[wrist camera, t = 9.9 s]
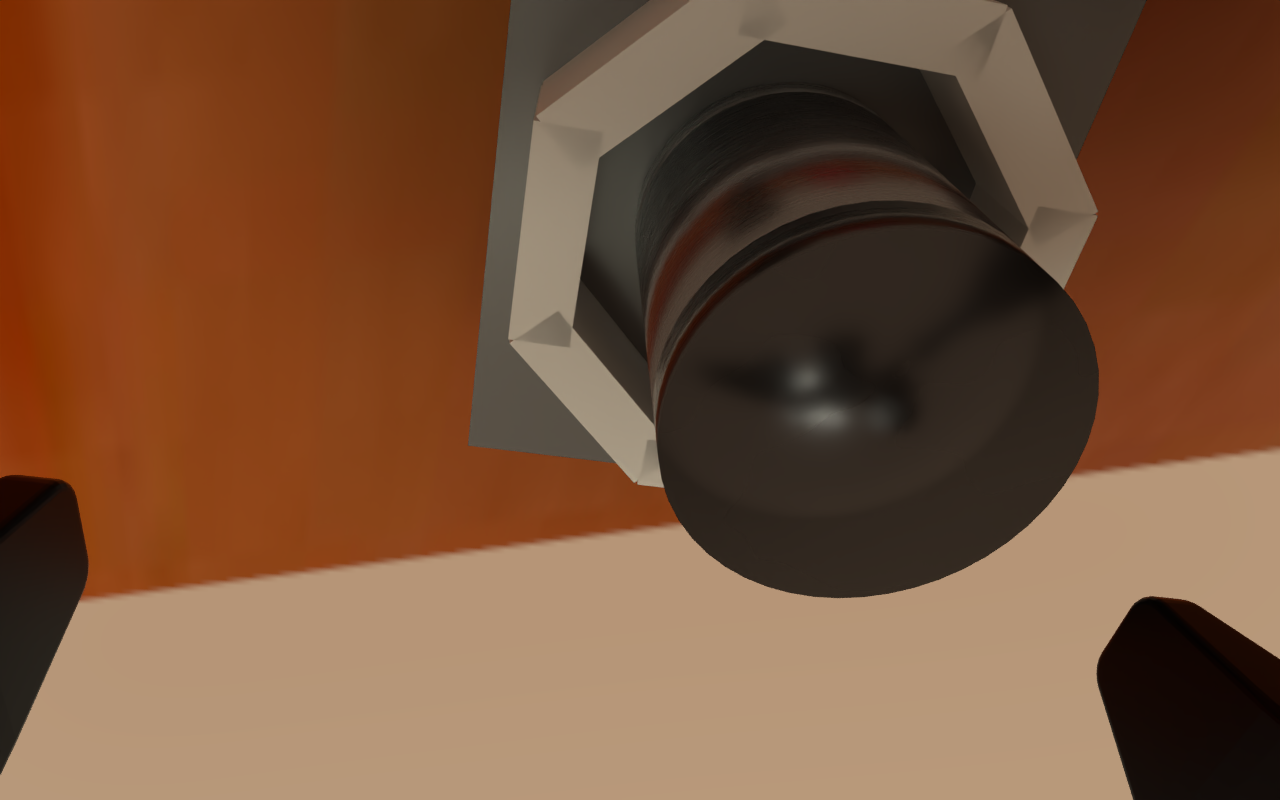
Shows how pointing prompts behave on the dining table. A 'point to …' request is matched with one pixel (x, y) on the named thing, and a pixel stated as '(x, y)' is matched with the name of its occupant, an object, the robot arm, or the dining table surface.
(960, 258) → the lens
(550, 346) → the camera body
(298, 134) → the dining table surface
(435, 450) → the dining table surface
